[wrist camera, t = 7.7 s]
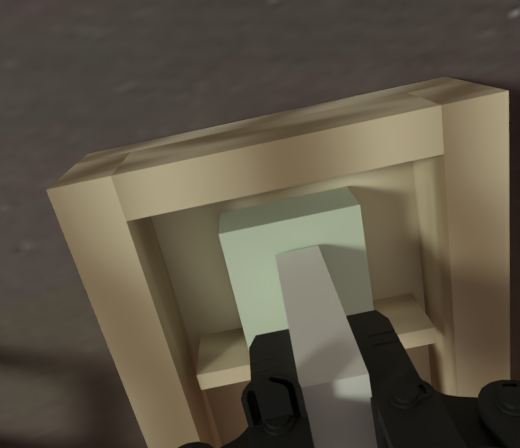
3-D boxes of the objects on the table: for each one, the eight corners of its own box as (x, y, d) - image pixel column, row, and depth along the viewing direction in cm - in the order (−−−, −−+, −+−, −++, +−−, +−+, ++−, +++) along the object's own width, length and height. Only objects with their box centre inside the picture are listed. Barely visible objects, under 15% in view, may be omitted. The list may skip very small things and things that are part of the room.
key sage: (246, 319, 20) (248, 350, 18) (219, 212, 18) (218, 234, 16) (362, 296, 20) (375, 324, 18) (346, 186, 18) (359, 204, 16)
